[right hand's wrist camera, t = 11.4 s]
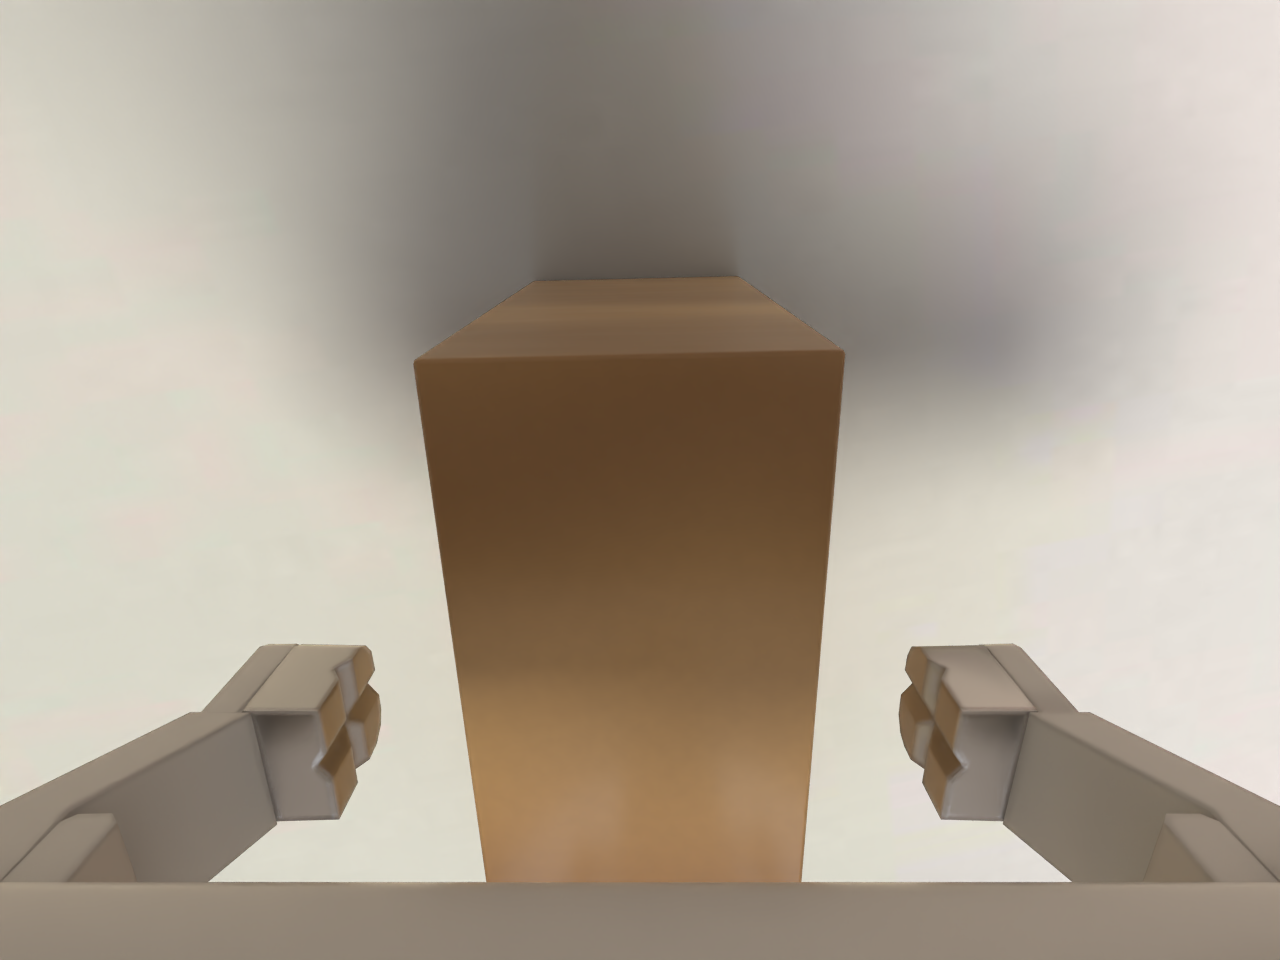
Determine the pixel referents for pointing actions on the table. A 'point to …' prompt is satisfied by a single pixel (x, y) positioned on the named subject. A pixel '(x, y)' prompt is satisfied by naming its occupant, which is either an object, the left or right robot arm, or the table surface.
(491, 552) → the box
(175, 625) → the table surface
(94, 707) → the table surface
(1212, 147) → the table surface
